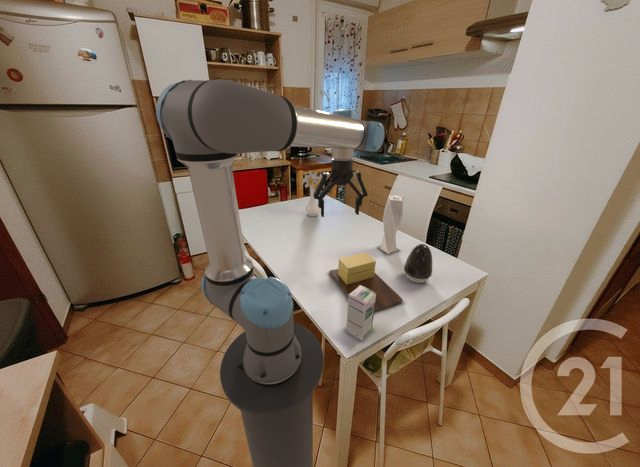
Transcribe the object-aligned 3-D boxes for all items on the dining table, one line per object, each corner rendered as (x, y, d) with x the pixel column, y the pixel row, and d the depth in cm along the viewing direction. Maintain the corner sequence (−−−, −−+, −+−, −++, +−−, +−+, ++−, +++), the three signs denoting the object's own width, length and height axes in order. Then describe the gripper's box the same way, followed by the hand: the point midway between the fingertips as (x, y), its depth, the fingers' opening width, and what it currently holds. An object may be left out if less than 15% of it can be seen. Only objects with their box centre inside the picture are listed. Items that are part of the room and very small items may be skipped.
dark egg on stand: (404, 285, 99) (411, 251, 92) (400, 269, 108) (406, 237, 101) (432, 288, 98) (442, 253, 91) (426, 271, 107) (434, 239, 100)
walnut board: (362, 316, 85) (363, 312, 84) (329, 273, 105) (329, 270, 104) (402, 302, 91) (402, 299, 90) (363, 264, 111) (363, 261, 110)
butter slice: (347, 275, 95) (347, 268, 93) (338, 265, 100) (338, 258, 99) (375, 267, 99) (375, 261, 98) (364, 258, 105) (365, 252, 103)
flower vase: (310, 222, 147) (310, 178, 135) (297, 211, 162) (296, 170, 150) (330, 218, 152) (332, 176, 141) (316, 207, 167) (317, 168, 155)
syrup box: (361, 341, 76) (366, 303, 69) (345, 330, 79) (348, 293, 73) (372, 329, 80) (377, 292, 73) (355, 320, 83) (359, 283, 77)
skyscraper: (401, 251, 120) (411, 193, 107) (388, 256, 117) (397, 197, 104) (388, 244, 127) (396, 188, 114) (375, 248, 123) (382, 191, 110)
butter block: (346, 284, 97) (347, 276, 95) (337, 274, 102) (338, 265, 100) (373, 276, 101) (375, 268, 99) (364, 267, 107) (364, 259, 105)
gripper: (372, 155, 96) (367, 208, 106) (305, 157, 93) (306, 212, 103) (380, 159, 90) (373, 216, 100) (307, 162, 86) (308, 220, 96)
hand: (339, 214), depth 101 cm, fingers open, 13 cm apart
